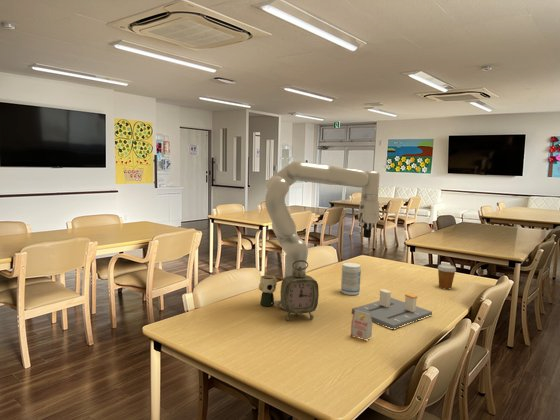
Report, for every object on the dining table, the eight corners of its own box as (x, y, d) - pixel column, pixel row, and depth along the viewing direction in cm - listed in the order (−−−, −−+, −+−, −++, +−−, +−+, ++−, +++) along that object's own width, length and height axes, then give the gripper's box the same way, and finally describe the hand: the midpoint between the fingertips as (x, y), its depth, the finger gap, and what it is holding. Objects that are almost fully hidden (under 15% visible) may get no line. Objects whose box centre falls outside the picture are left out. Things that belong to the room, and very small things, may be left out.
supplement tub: (362, 295, 204) (363, 267, 203) (343, 295, 203) (345, 267, 201) (355, 289, 214) (357, 262, 212) (338, 289, 213) (340, 262, 211)
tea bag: (355, 333, 159) (356, 308, 158) (371, 338, 155) (373, 312, 154) (350, 335, 156) (352, 310, 155) (366, 341, 152) (368, 315, 151)
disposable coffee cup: (457, 290, 219) (459, 269, 218) (439, 289, 219) (441, 268, 218) (450, 285, 229) (452, 264, 227) (433, 284, 229) (435, 263, 228)
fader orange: (412, 312, 177) (413, 297, 176) (403, 309, 180) (405, 294, 180) (416, 311, 179) (417, 296, 178) (407, 308, 182) (408, 293, 181)
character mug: (264, 309, 179) (265, 281, 178) (253, 305, 184) (254, 277, 183) (281, 304, 187) (282, 276, 186) (270, 300, 192) (271, 273, 191)
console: (393, 330, 163) (393, 325, 163) (351, 312, 180) (352, 308, 180) (431, 316, 180) (432, 311, 180) (390, 301, 197) (390, 297, 197)
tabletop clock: (284, 322, 166) (286, 263, 163) (278, 314, 175) (280, 257, 172) (317, 320, 170) (320, 262, 167) (310, 312, 178) (312, 256, 175)
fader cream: (386, 307, 182) (387, 292, 181) (378, 304, 185) (379, 290, 184) (390, 306, 183) (391, 291, 183) (382, 303, 187) (383, 289, 186)
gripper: (365, 199, 178) (362, 240, 181) (386, 198, 188) (383, 237, 190) (352, 197, 184) (349, 237, 186) (373, 197, 193) (370, 234, 196)
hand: (366, 237), depth 188 cm, fingers closed
